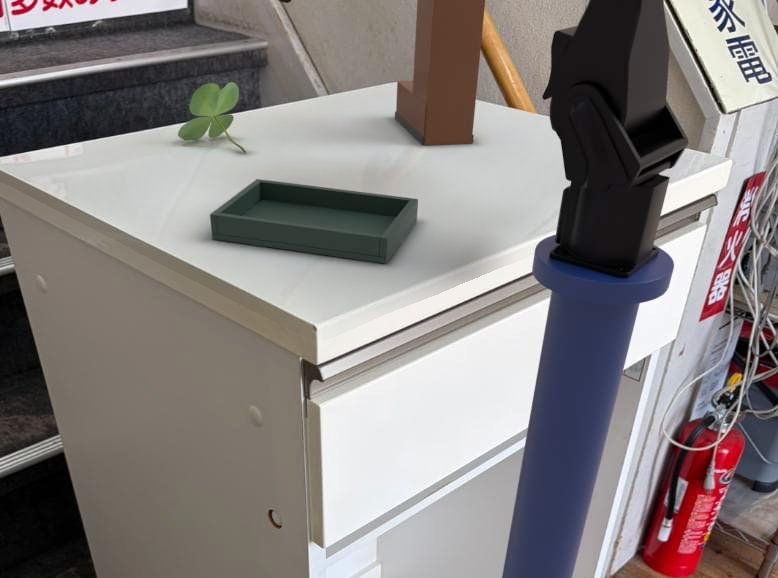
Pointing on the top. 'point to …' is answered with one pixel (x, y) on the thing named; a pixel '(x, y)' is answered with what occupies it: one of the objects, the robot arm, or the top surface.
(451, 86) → the boot
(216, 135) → the green leafy piece
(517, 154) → the top surface
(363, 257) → the tray
